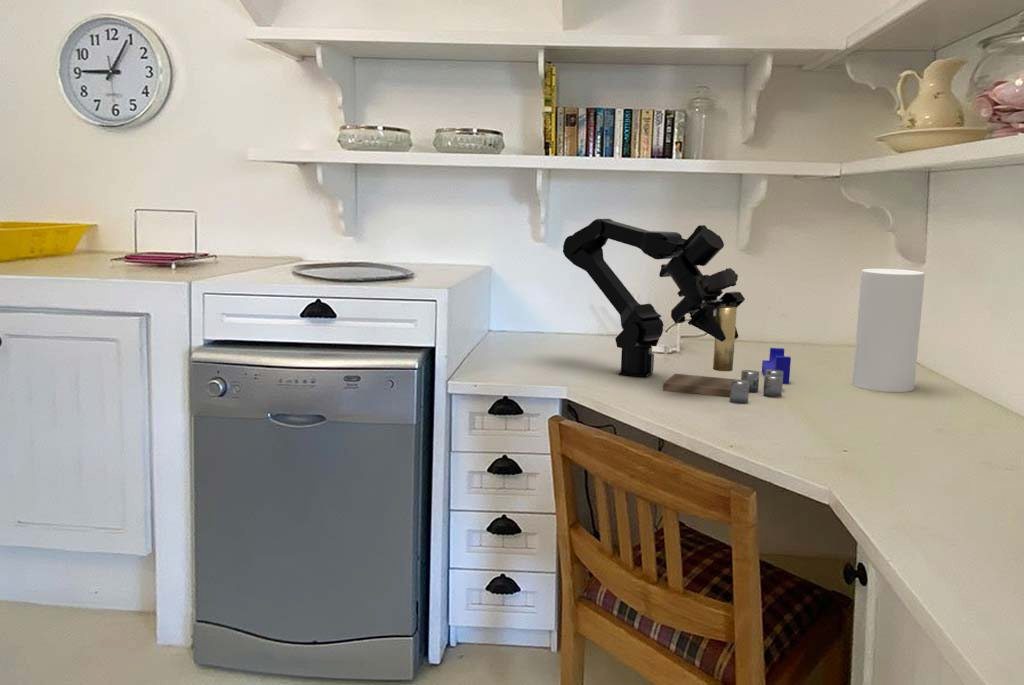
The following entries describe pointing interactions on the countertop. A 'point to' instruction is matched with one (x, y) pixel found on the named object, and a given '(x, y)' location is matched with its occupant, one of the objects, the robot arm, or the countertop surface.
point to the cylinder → (888, 329)
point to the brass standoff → (726, 347)
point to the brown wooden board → (698, 385)
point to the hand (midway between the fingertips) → (730, 339)
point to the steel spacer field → (756, 385)
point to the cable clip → (778, 363)
